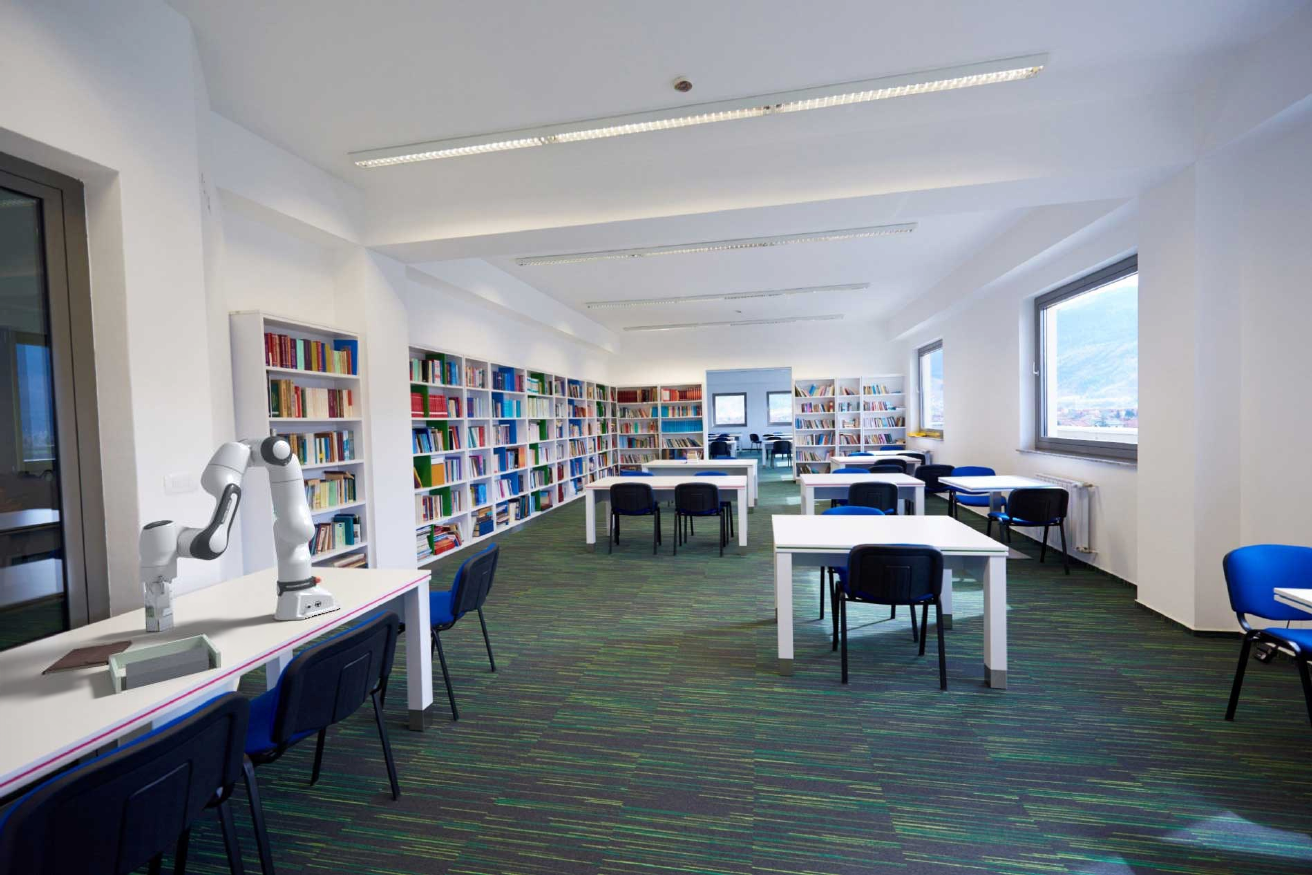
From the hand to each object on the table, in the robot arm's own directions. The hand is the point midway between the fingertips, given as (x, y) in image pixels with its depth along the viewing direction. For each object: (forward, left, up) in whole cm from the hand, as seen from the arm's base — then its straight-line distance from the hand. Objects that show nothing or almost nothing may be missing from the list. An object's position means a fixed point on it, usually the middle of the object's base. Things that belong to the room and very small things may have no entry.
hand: (158, 618), depth 176 cm
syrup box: (-4, -41, -14) cm, 44 cm away
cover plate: (0, +13, -14) cm, 19 cm away
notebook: (+14, -22, -15) cm, 30 cm away
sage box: (0, +8, -14) cm, 16 cm away
